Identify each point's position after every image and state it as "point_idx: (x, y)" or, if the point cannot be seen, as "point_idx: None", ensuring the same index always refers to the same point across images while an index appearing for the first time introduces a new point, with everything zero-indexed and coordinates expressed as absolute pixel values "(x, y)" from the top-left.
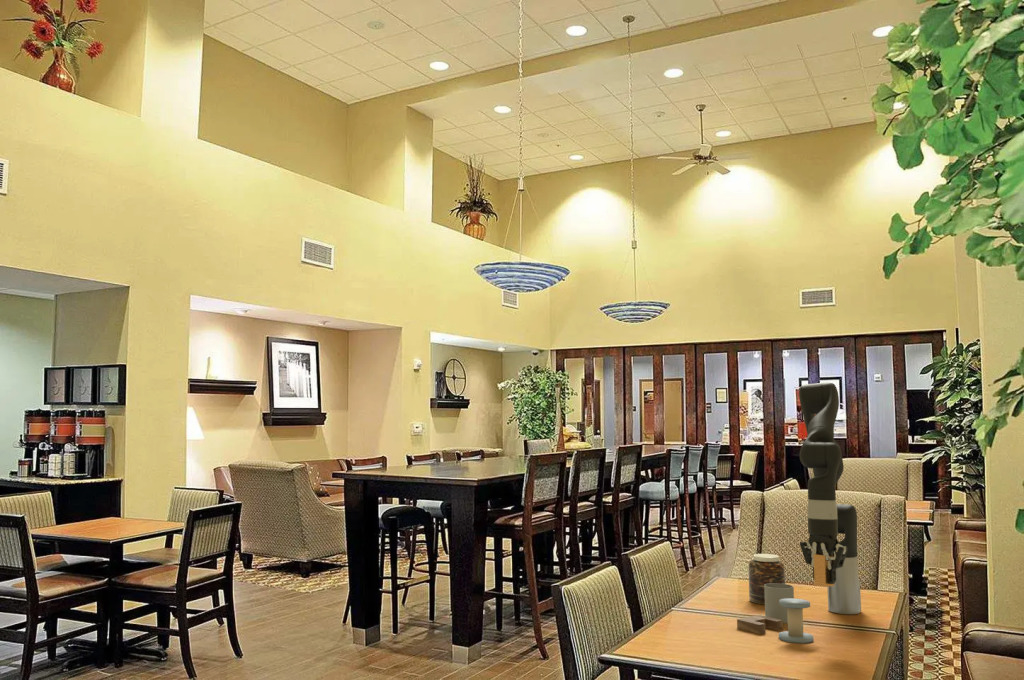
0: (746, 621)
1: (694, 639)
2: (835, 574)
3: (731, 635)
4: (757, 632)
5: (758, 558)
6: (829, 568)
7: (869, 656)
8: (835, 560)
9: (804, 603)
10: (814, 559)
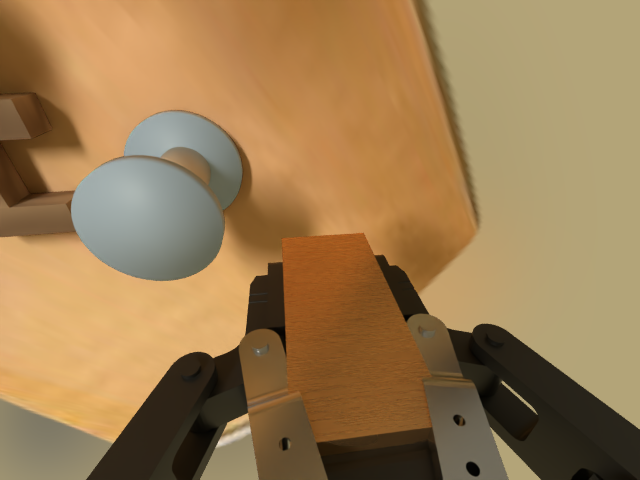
0: (15, 233)
1: (106, 359)
2: (417, 300)
3: (88, 284)
4: None
5: None
6: None
7: (428, 140)
8: (502, 428)
9: (208, 224)
10: None
